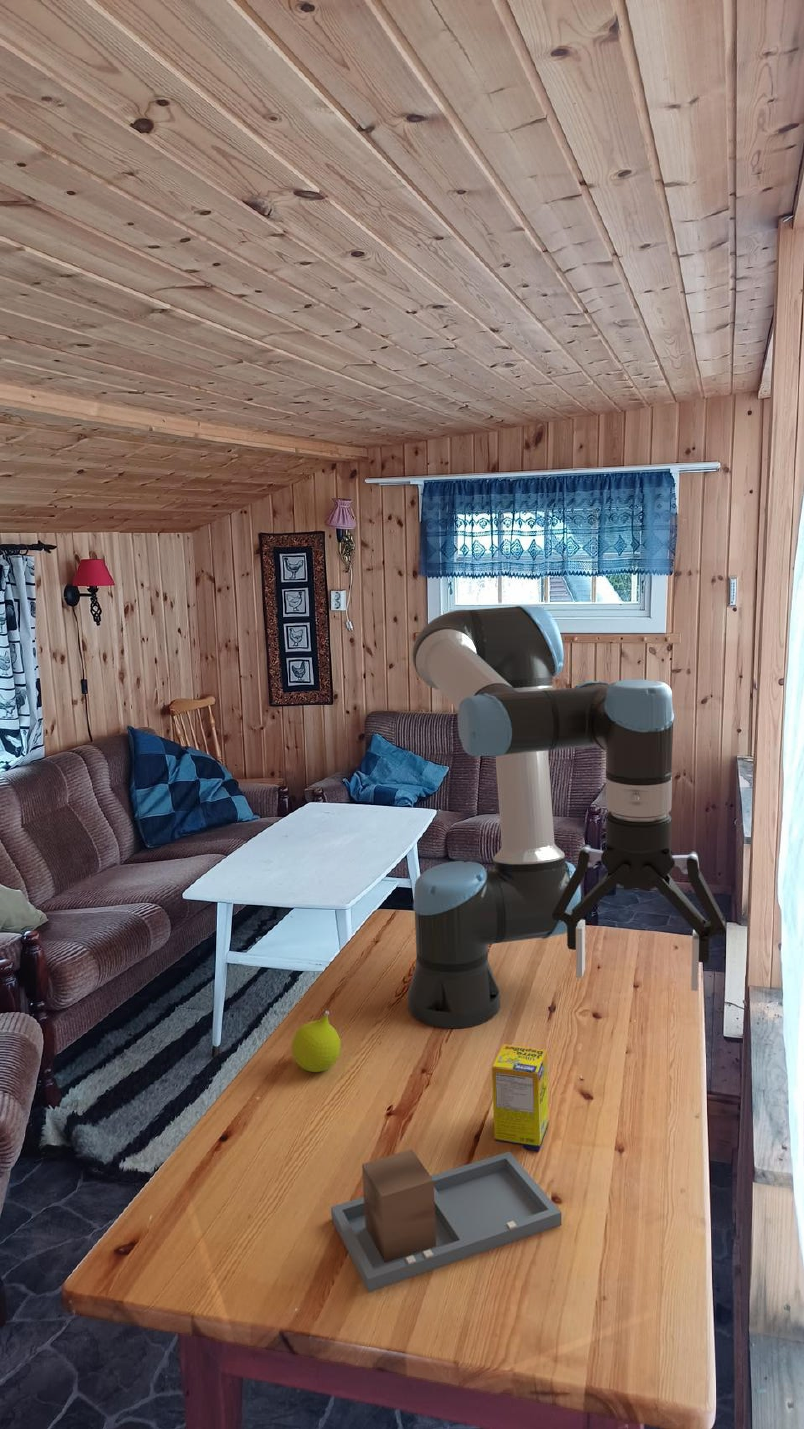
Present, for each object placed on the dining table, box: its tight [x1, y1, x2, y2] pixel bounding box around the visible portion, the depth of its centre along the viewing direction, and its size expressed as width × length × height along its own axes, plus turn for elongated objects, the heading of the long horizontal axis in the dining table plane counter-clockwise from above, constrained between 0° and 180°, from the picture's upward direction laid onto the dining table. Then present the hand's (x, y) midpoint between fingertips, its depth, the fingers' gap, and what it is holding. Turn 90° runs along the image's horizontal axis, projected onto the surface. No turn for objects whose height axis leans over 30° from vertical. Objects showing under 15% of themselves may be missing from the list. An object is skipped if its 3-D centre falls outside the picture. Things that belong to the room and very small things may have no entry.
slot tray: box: [330, 1151, 562, 1293], centre depth 110 cm, size 12×23×2 cm, turn 112°
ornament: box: [291, 1010, 342, 1073], centre depth 143 cm, size 7×7×10 cm
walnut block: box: [361, 1149, 436, 1263], centre depth 108 cm, size 6×6×8 cm
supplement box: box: [491, 1043, 549, 1152], centre depth 126 cm, size 6×6×11 cm
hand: (636, 979), depth 119 cm, fingers open, 13 cm apart
